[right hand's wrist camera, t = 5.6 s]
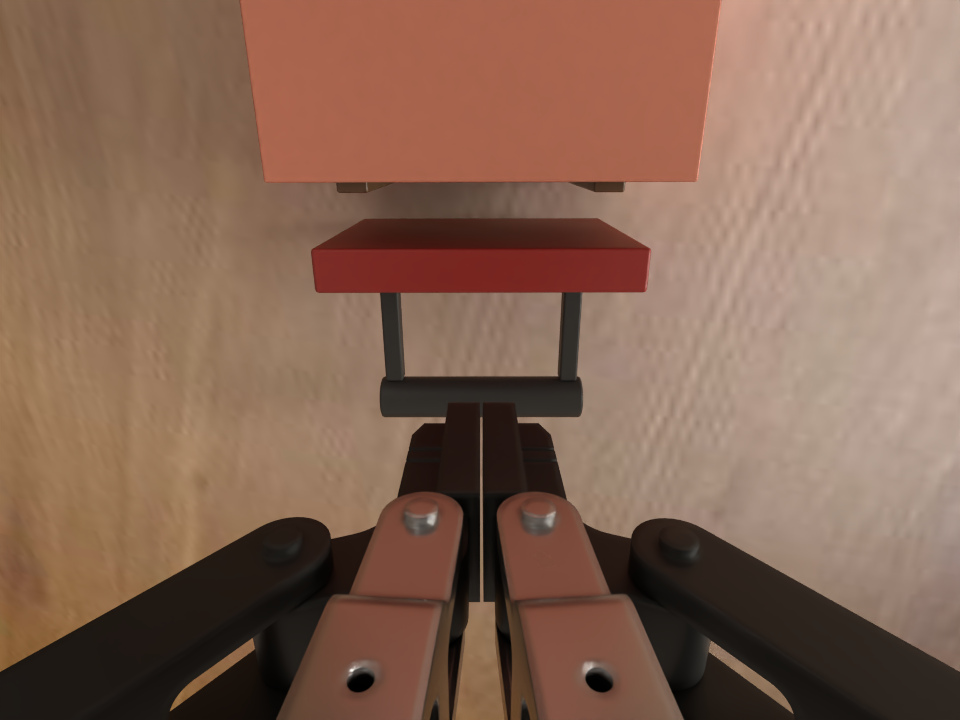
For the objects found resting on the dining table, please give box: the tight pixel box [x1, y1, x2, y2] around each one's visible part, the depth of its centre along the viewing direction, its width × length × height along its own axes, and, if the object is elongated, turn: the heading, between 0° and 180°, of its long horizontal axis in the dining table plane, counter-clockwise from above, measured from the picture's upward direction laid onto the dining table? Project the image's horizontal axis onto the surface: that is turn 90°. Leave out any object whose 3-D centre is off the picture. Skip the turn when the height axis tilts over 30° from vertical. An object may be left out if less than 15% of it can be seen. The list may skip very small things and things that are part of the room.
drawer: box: [311, 182, 651, 417], centre depth 16 cm, size 23×9×7 cm, turn 0°
